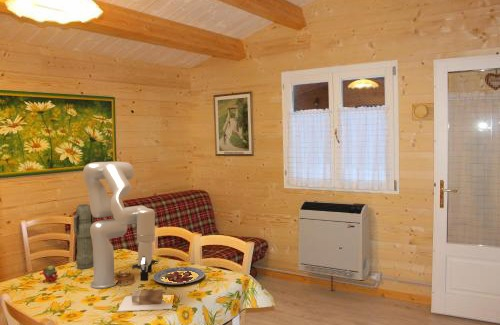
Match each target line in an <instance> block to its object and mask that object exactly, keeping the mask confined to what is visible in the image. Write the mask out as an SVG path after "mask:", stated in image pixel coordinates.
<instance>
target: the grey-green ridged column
mask: <svg viewBox="0 0 500 325" xmlns="http://www.w3.org/2000/svg"><path fill="white" fill-rule="evenodd" d="M93 223H94V217H93V215H92V213H91V209H90V204H88V203H87V204H79V205H77V206H76V210H75V214H74V216H73V233H74V234H75V237H76V253H77V254H76V256H75V257H76V259H75V260H76V261H75V262H76V269H77V270H89V269H90V270H91V269H92V268H94V265H93V244H92V238H91V234H90V227H91V225H92V224H93Z"/></svg>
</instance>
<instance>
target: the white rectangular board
mask: <svg viewBox="0 0 500 325" xmlns="http://www.w3.org/2000/svg"><path fill="white" fill-rule="evenodd" d="M169 303H170V302H169ZM169 303H166V301H164V300H162V302H161V304H152V305H132V295H127V296H125V297H124V298H123V300H122V302H121V304H120V306H119V308H118V309H117V313H128V312H127V311H135V312H141V311H140V310H155V311H164V310H163V309H172V310H173V307H174V303H173V304H172V303H170V304H169ZM172 306H173V307H172Z"/></svg>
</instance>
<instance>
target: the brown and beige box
mask: <svg viewBox="0 0 500 325" xmlns="http://www.w3.org/2000/svg"><path fill="white" fill-rule="evenodd" d="M163 295H164V294H163V289H152V290H151V289H150V290H134V291H133V293H132V294H131V296H132V305H152V304H161V302H162V299H163Z"/></svg>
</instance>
